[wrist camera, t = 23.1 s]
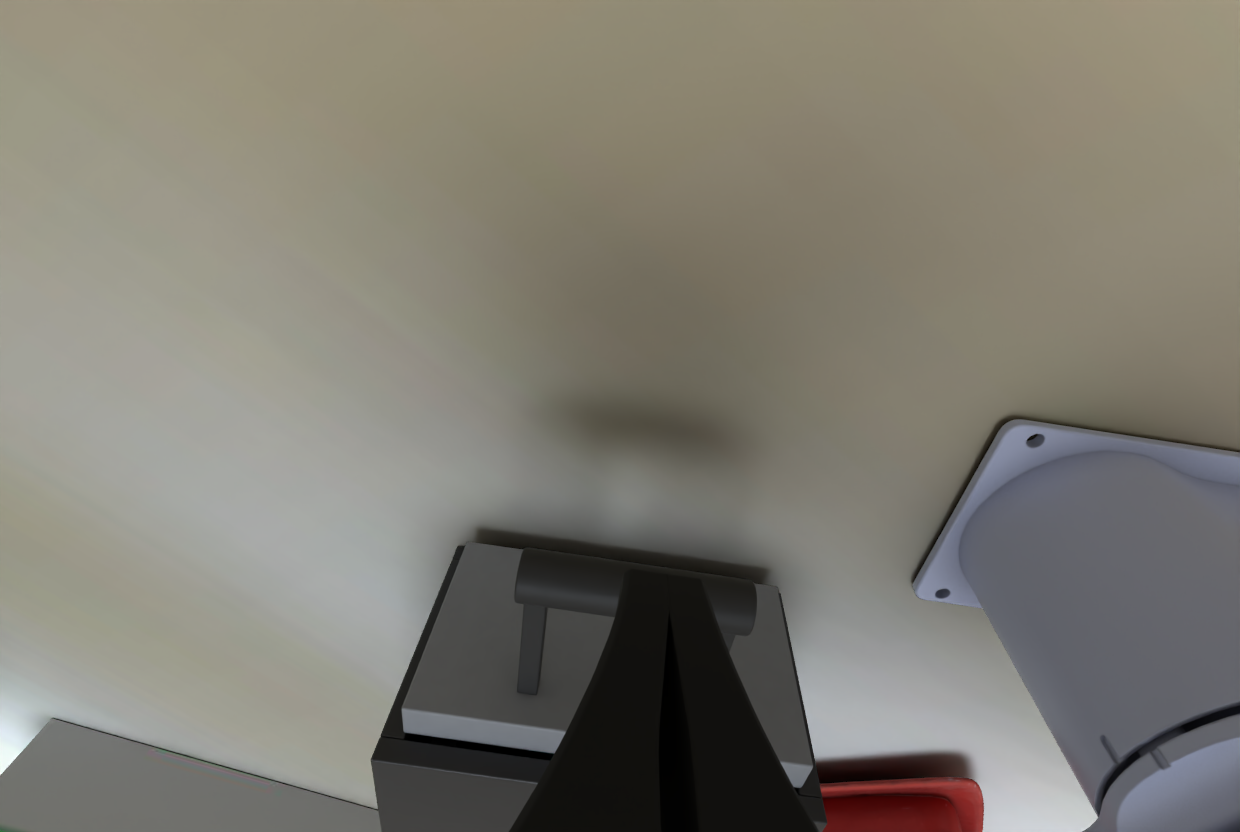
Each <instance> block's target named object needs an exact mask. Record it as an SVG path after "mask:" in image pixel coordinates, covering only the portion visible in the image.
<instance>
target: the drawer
mask: <svg viewBox="0 0 1240 832" xmlns="http://www.w3.org/2000/svg"><path fill="white" fill-rule="evenodd" d="M629 569H638V570H645V571H652V572H658V573H665V574H672V575H679V576H686V577H693V578H699V579H701V580H702V581H703V582H704V583H705V584H706V588H707V591H708V595H709V598H710V601H711V604H712V607H713V610H714V613H715V616H716V619H717V622H718V625H719V627H720V630H721V633H722V635H723V638H724V640H725V643H726V646H727V648H728V651H729V653H730V656H731V658H732V661H733V663H734V665H735V668H736V670H737V672H738V675H739V677H740V679H741V681H742V684H743V686H744V688H745V690H746V693H747V695H748V697H749V699H750V702H751V704H752V706H753V708H754V710H755V713H756V715H757V717H758V719H759V721H760V723H761V725H762V727H763V729H764V731H765V733H766V735H767V737H768V739H769V741H770V743H771V745H772V747H773V749H774V751H775V753H776V755H777V757H778V759H779V761H780V763H781V765H782V766H783V768H784V770H785V772H786V774H787V776H788V778H789V779H790V781H791V783H792V785H793V787H797V788H801V787H802V786H803V784H804V782H805V781H806V779H807V777H808V775H809V774H810V772H811V770H812V768H813V763H812V758H811V753H810V748H809V743H808V738H807V734H806V729H805V724H804V719H803V714H802V709H801V704H800V699H799V694H798V689H797V684H796V679H795V674H794V669H793V664H792V659H791V654H790V649H789V644H788V639H787V634H786V629H785V624H784V619H783V614H782V609H781V604H780V599H779V594H778V589H777V587H775V586H768V585H761V584H755V583H754V582H753V581H751V580H747V579H740V578H733V577H727V576H720V575H713V574H706V573H699V572H693V571H686V570H679V569H672V568H665V567H658V566H652V565H645V564H638V563H631V562H624V561H617V560H611V559H604V558H597V557H590V556H583V555H576V554H570V553H563V552H556V551H549V550H542V549H535V548H529V547H526V548H524V550H522V549H515V548H508V547H502V546H495V545H488V544H481V543H474V542H467V543H466V545H465V548H464V550H463V553H462V556H461V558H460V561H459V563H458V566H457V568H456V571H455V573H454V576H453V579H452V581H451V584H450V586H449V589H448V591H447V594H446V596H445V599H444V601H443V604H442V607H441V609H440V612H439V614H438V617H437V619H436V622H435V624H434V627H433V629H432V632H431V635H430V637H429V640H428V642H427V645H426V647H425V650H424V652H423V655H422V657H421V660H420V663H419V665H418V668H417V670H416V673H415V675H414V678H413V680H412V683H411V685H410V688H409V691H408V693H407V696H406V698H405V701H404V703H403V706H402V719H403V731H404V732H405V733H412V734H419V735H426V736H433V737H432V740H431V743H430V744H436V745H443V746H450V747H457V748H464V749H472V750H479V751H486V752H493V753H500V754H507V755H514V756H522V754H523V749H526V750H533V751H540V752H547V753H554V754H555V752H556V750H557V748H558V746H559V744H560V742H561V740H562V738H563V737H564V735H565V733H566V731H567V729H568V727H569V725H570V723H571V721H572V719H573V717H574V715H575V713H576V710H577V708H578V706H579V704H580V702H581V700H582V698H583V696H584V694H585V692H586V689H587V687H588V685H589V683H590V681H591V679H592V676H593V674H594V672H595V669H596V667H597V664H598V662H599V659H600V657H601V654H602V652H603V649H604V647H605V644H606V642H607V639H608V637H609V634H610V631H611V628H612V625H613V622H614V619H615V614H616V609H617V604H618V599H619V594H620V589H621V584H622V579H623V574H624V572H625V571H627V570H629Z"/></svg>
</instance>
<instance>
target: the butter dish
mask: <svg viewBox="0 0 1240 832" xmlns="http://www.w3.org/2000/svg"><path fill="white" fill-rule="evenodd" d="M820 788H821V793H822V800H823V804H824V808H825V813H826V818H827V825H826V827H825V828H824V830H823V831H822V832H982V830H983V815H984V814H983V813H984V803H983V796H982V792H981V789H980V787H979V785H978V784H977V783H976V782H975V781H974V780H972V779H969V778H965V777H934V778H929V777H927V778H915V779H893V780H876V781H860V782H859V781H856V782H841V783H828V784H820Z"/></svg>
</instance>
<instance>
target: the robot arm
mask: <svg viewBox="0 0 1240 832" xmlns="http://www.w3.org/2000/svg"><path fill="white" fill-rule="evenodd" d="M1034 434H1038V435H1037V436H1036V437H1035V438H1034V439H1032V440H1030V441H1027V439H1028V438H1029V437H1030V436H1032V435H1034ZM912 587H913V590H914V592H915V594H916V596H917V597H918V598H920V599H923V600H930V601H937V602H944V603H950V604H957V605H964V606H971V607H978V608H983V610H984V612H985V613H986V615H987V617H988V619H989V621H990V622H991V624H992V626H993V628H994V630H995V631H996V633H997V635H998V637H999V639H1000V641H1001V642H1002V644H1003V646H1004V648H1005V650H1006V651H1007V653H1008V655H1009V657H1010V659H1011V660H1012V662H1013V664H1014V666H1015V668H1016V669H1017V671H1018V673H1019V675H1020V677H1021V679H1022V680H1023V682H1024V684H1025V686H1026V688H1027V689H1028V691H1029V693H1030V695H1031V697H1032V698H1033V700H1034V702H1035V704H1036V706H1037V708H1038V709H1039V711H1040V713H1041V715H1042V717H1043V718H1044V720H1045V722H1046V724H1047V726H1048V727H1049V729H1050V731H1051V733H1052V735H1053V736H1054V738H1055V740H1056V742H1057V744H1058V746H1059V747H1060V749H1061V751H1062V753H1063V755H1064V756H1065V758H1066V760H1067V762H1068V764H1069V765H1070V767H1071V769H1072V771H1073V773H1074V775H1075V776H1076V778H1077V780H1078V782H1079V784H1080V785H1081V787H1082V789H1083V791H1084V793H1085V794H1086V796H1087V798H1088V800H1089V802H1090V803H1091V805H1092V807H1093V809H1094V811H1095V813H1096V814H1097V816H1098V819H1097V820H1096V821H1095V822H1094V823H1093V824H1092V825H1091V826H1090V827H1089V828H1087V829H1086V830H1084V831H1083V832H1240V453H1239V452H1233V451H1226V450H1220V449H1213V448H1207V447H1200V446H1194V445H1187V444H1180V443H1174V442H1167V441H1161V440H1154V439H1148V438H1141V437H1135V436H1128V435H1121V434H1115V433H1108V432H1102V431H1095V430H1089V429H1082V428H1076V427H1069V426H1062V425H1056V424H1049V423H1043V422H1036V421H1030V420H1023V419H1015V420H1012V421H1009V422H1007V423H1006V424H1004V425H1003V426H1002V427H1001V429H1000V430H999V431H998V433H997V435H996V437H995V438H994V440H993V442H992V444H991V446H990V447H989V449H988V451H987V453H986V454H985V456H984V458H983V460H982V462H981V463H980V465H979V467H978V469H977V470H976V472H975V474H974V476H973V478H972V479H971V481H970V483H969V485H968V486H967V488H966V490H965V492H964V494H963V495H962V497H961V499H960V501H959V502H958V504H957V506H956V508H955V509H954V511H953V513H952V515H951V517H950V518H949V520H948V522H947V524H946V525H945V527H944V529H943V531H942V533H941V534H940V536H939V538H938V540H937V541H936V543H935V545H934V547H933V549H932V550H931V552H930V554H929V556H928V557H927V559H926V561H925V563H924V565H923V566H922V568H921V570H920V572H919V573H918V575H917V577H916V579H915V581H914V582H913V586H912ZM940 589H941V590H940ZM509 832H819V830H818V828H817V827H816V825H815V823H814V821H813V820H812V818H811V816H810V815H809V813H808V811H807V809H806V808H805V806H804V804H803V803H802V801H801V799H800V797H799V796H798V794H797V792H796V790H795V789H794V787H793V785H792V783H791V781H790V779H789V778H788V776H787V774H786V772H785V770H784V768H783V766H782V765H781V763H780V761H779V759H778V757H777V755H776V753H775V751H774V749H773V747H772V745H771V743H770V741H769V739H768V737H767V735H766V733H765V731H764V729H763V727H762V725H761V723H760V721H759V719H758V717H757V715H756V713H755V710H754V708H753V706H752V704H751V702H750V699H749V697H748V695H747V693H746V690H745V688H744V686H743V684H742V681H741V679H740V677H739V675H738V672H737V670H736V668H735V665H734V663H733V661H732V658H731V656H730V653H729V651H728V648H727V646H726V643H725V640H724V638H723V635H722V633H721V630H720V627H719V625H718V622H717V619H716V616H715V613H714V610H713V607H712V604H711V601H710V598H709V595H708V591H707V588H706V584H705V583H704V582H703V581H702V580H701V579H699V578H693V577H686V576H679V575H672V574H665V573H658V572H652V571H645V570H638V569H629V570H627V571H625V572H624V574H623V579H622V584H621V589H620V594H619V599H618V604H617V609H616V614H615V619H614V622H613V625H612V628H611V631H610V634H609V637H608V639H607V642H606V644H605V647H604V649H603V652H602V654H601V657H600V659H599V662H598V664H597V667H596V669H595V672H594V674H593V676H592V679H591V681H590V683H589V685H588V687H587V689H586V692H585V694H584V696H583V698H582V700H581V702H580V704H579V706H578V708H577V710H576V713H575V715H574V717H573V719H572V721H571V723H570V725H569V727H568V729H567V731H566V733H565V735H564V737H563V738H562V740H561V742H560V744H559V746H558V748H557V750H556V752H555V754H554V755H553V757H552V759H551V761H550V763H549V764H548V766H547V768H546V770H545V772H544V773H543V775H542V777H541V779H540V780H539V782H538V784H537V786H536V787H535V789H534V791H533V792H532V794H531V796H530V797H529V799H528V801H527V802H526V804H525V806H524V807H523V809H522V811H521V812H520V814H519V816H518V817H517V819H516V821H515V822H514V824H513V826H512V827H511V829H510V831H509Z"/></svg>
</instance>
